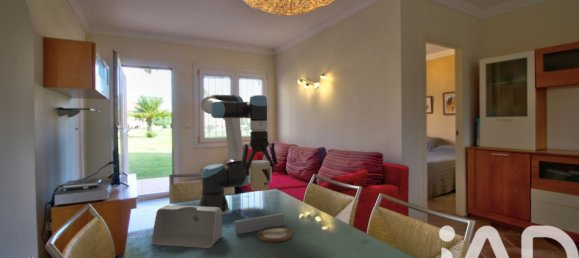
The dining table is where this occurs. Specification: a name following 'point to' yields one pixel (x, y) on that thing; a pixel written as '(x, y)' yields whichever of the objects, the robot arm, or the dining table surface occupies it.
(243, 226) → the grey wall
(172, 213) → the white open storage bin
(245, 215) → the dining table surface
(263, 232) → the walnut mat
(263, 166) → the coffee cup
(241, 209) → the dining table surface
